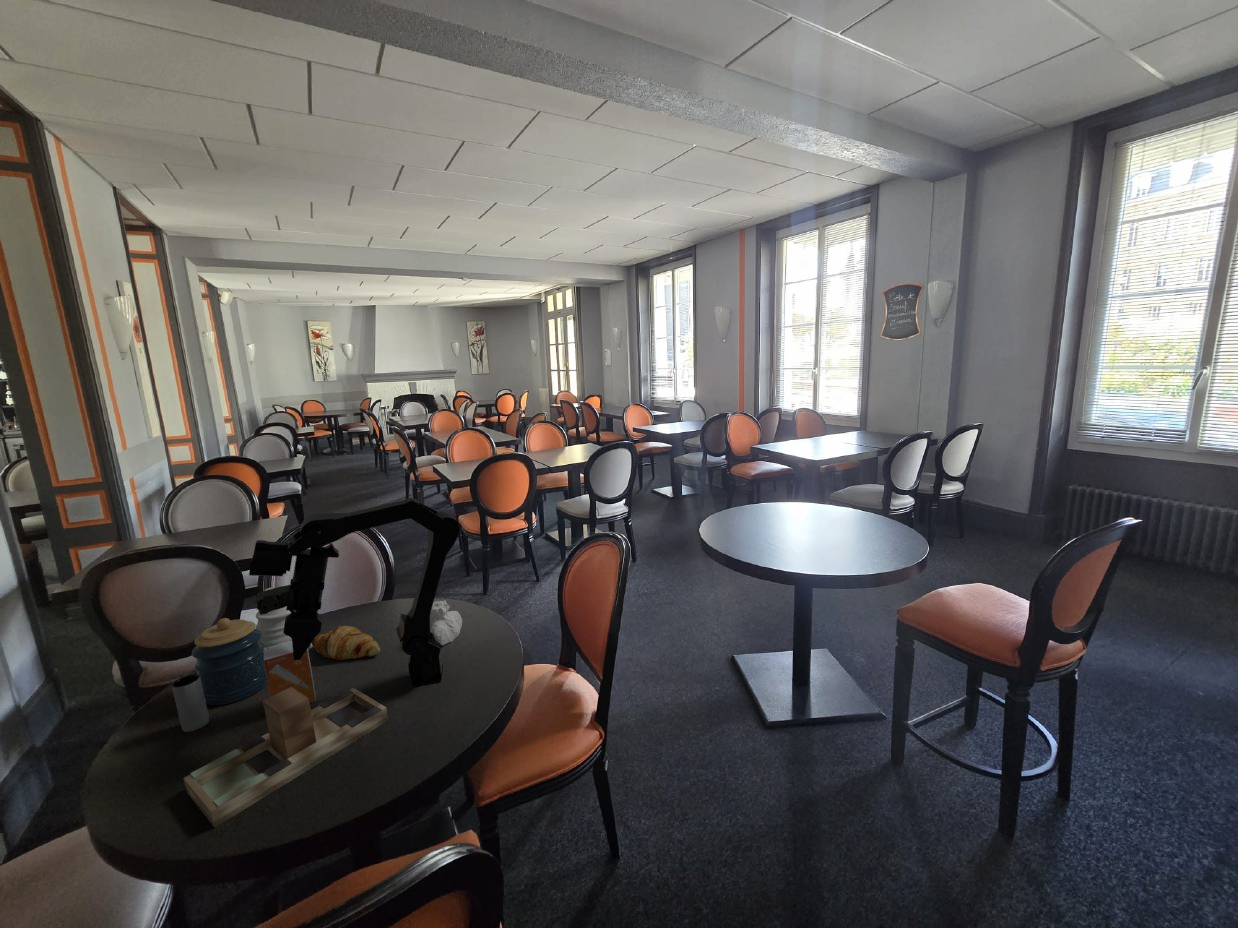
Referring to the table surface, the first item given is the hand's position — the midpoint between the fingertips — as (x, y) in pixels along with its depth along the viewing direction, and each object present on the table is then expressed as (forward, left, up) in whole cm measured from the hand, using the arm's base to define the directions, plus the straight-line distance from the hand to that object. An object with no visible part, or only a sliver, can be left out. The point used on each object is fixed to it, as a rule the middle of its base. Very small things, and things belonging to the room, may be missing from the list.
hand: (297, 649), depth 108 cm
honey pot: (+15, -32, -15) cm, 39 cm away
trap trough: (-1, +12, -15) cm, 20 cm away
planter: (+23, -4, -15) cm, 28 cm away
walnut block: (-1, +12, -14) cm, 18 cm away
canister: (+20, -16, -15) cm, 30 cm away
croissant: (-1, -25, -15) cm, 30 cm away
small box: (+5, -6, -15) cm, 17 cm away
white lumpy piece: (-26, -24, -15) cm, 39 cm away
